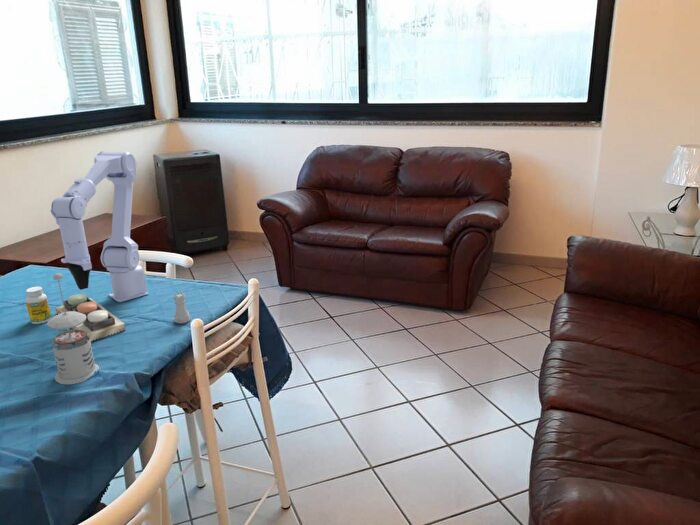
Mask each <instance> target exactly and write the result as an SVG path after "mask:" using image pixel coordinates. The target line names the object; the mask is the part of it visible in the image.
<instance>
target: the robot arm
mask: <svg viewBox="0 0 700 525" xmlns="http://www.w3.org/2000/svg"><path fill="white" fill-rule="evenodd" d="M93 158H94V160H93V162H94V163H93V165H92V167H91V168H90V169H89V171H88V172H87V174H86V175H85V177H84V178H78V179H77V178H76V179H75V180H74V182H73V184H72V185H71V186H70V187H69V188H68V190H66V191H65V193H64V194H62V196H57V197H56V198H55V199H53V200H52V202H51V204H50V205H51V209H50V213H51V215H52V216H53V218H54V219H55V223H56V224H57V226H58V227H59V231H60V236H61V241H62V246H63V252H64V258H61V259H60V261H61V263H63V264H66V265H65V267H66V268H67V269H68V271H69V272H70V274H71V275H72V277H73V279H74V281H75V283H76V286H77V288H78V290H84V289H88V288H89V280H90V273H91V270H92V269H93V263H92V262H91V256H90V253H89V248H88V243H87V238H86V232H85V227H84V221H83V217H84V216H85V214H86V210H87V209H86V208H87V207H88V203H89V202H90V201H91V199H92V198H93V197H94V196H95V195H96V193H97V189H96V188H97V186H98V185H99V184H100V183H101V182H102V181H103V180H104V179H105V178H106V179H107V180H108V181H110V182H111V183H112V184H113V185H114V188H113V189H114V190H113V203H112V204H113V205H112V219H111V220H112V221H111V236H110V238H108V239H106V241H104V242H103V248H102V251H101V254H100V262H101V264H102V266H103V267H104V268H106V271H108V272H109V276H110V277H109V278H110V282H111V288H112V293H108V296H109V298H111V299H112V300H114V301H116V302H117V303H122V302H126V301H129V300H133V299H136V298H139V297H142V296H143V297H144V296H146V295H149V292H148V288H147V282H146V274H145V271H144V269H143V267H142V266H141V265H140V264H139V263H140V253H139V245H138V243H136V242H135V241H134V240H133V239H132V238H131V224H132V209H133V208H132V206H133V193H134V192H133V191H134V182H136V175H137V162H138V161H137V160H136V158H135V156H134V154H133V153H132V152H131V151H99V152H98V153H97V154H96V156H94V157H93Z"/></svg>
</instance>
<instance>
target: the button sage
mask: <svg viewBox="0 0 700 525" xmlns="http://www.w3.org/2000/svg"><path fill="white" fill-rule="evenodd" d="M87 297H88V296H87V295H86V294H85V293H76V294H73V295H70V296H68V297H67V298H66V300H68V305H70V306H71V307H72V306H75V305H79V304H82V303H85V302H87Z"/></svg>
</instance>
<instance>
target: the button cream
mask: <svg viewBox="0 0 700 525" xmlns="http://www.w3.org/2000/svg"><path fill="white" fill-rule="evenodd" d="M107 311H108V310H107ZM107 311H105V310H97V311H93V312H91V313H89V314H88V315H87V317H88V322H90V323H91V324H94V323H98V322H101V321H104V320H107V319H109V318H108V312H107Z"/></svg>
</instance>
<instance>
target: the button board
mask: <svg viewBox="0 0 700 525" xmlns="http://www.w3.org/2000/svg"><path fill="white" fill-rule="evenodd" d="M86 297H87V302H95V303H96V304H97V309H98V310H105V311H107V312H108V318H109V319H107V320H104V321H101V322H98V323H94V324H91V323H90V322H88V317H87V315H88V314H89V313H87V314H85V315H86V320H85V322H83V323H82V324H80V325H78V326H76V329H79V330H81V329H82V330H85V331H86V332H87V336H88V337H89V338H90V341H91V342H93V340H94V341H97V340H99V338H100V339H102V338H106V337H109V336H112V335H115V334H118V333H121V332H120V331H122V332H124V331H123V330H125V331H126V326H125V322H123V321H122V320H120V319H119V318H118V317H117V316H115V315H114V314H113V313H111V312H110V311H109V310H107V309H106V308H105V307H104V306H102V305H101V304H100V303H98V302H97V301H96V300H94V299H93V298H91V297H88V296H86ZM63 302H64V306H65V311H66V312H69V311H75V312H78V310H77V306H78V305H75V306H72V307H71V306H70V305H68V300H67V299H66V300H63ZM63 302H62V303H63ZM55 311H56V312H55V313H56V315H57V314H60V313H64V307H63V305H59V306H57V307H55ZM90 313H91V312H90ZM71 329H72V330H74V329H75V327H72V328H71ZM117 332H118V333H117ZM114 333H115V334H114ZM111 334H112V335H111ZM108 335H109V336H108ZM96 339H97V340H96ZM88 341H89V340H86V341H85V342H86V343H87V342H88Z"/></svg>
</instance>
